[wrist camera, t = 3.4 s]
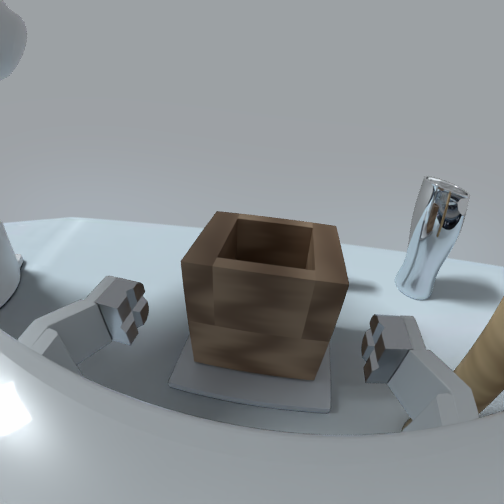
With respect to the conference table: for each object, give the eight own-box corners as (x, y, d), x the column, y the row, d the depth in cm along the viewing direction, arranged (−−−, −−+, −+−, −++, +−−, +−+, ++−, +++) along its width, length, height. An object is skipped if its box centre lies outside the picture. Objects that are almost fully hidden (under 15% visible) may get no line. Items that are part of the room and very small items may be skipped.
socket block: (194, 361, 21) (180, 261, 16) (218, 301, 28) (216, 211, 23) (313, 380, 20) (349, 284, 15) (314, 315, 27) (336, 226, 22)
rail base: (169, 386, 20) (153, 333, 16) (224, 264, 36) (224, 216, 33) (327, 413, 18) (356, 365, 15) (323, 277, 35) (334, 230, 31)
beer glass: (383, 274, 36) (411, 172, 28) (416, 271, 37) (445, 179, 29) (407, 305, 30) (449, 192, 22) (441, 299, 31) (480, 199, 23)
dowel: (403, 457, 14) (548, 304, 6) (398, 417, 17) (509, 256, 9) (441, 450, 13) (575, 305, 5) (434, 413, 17) (541, 264, 9)
